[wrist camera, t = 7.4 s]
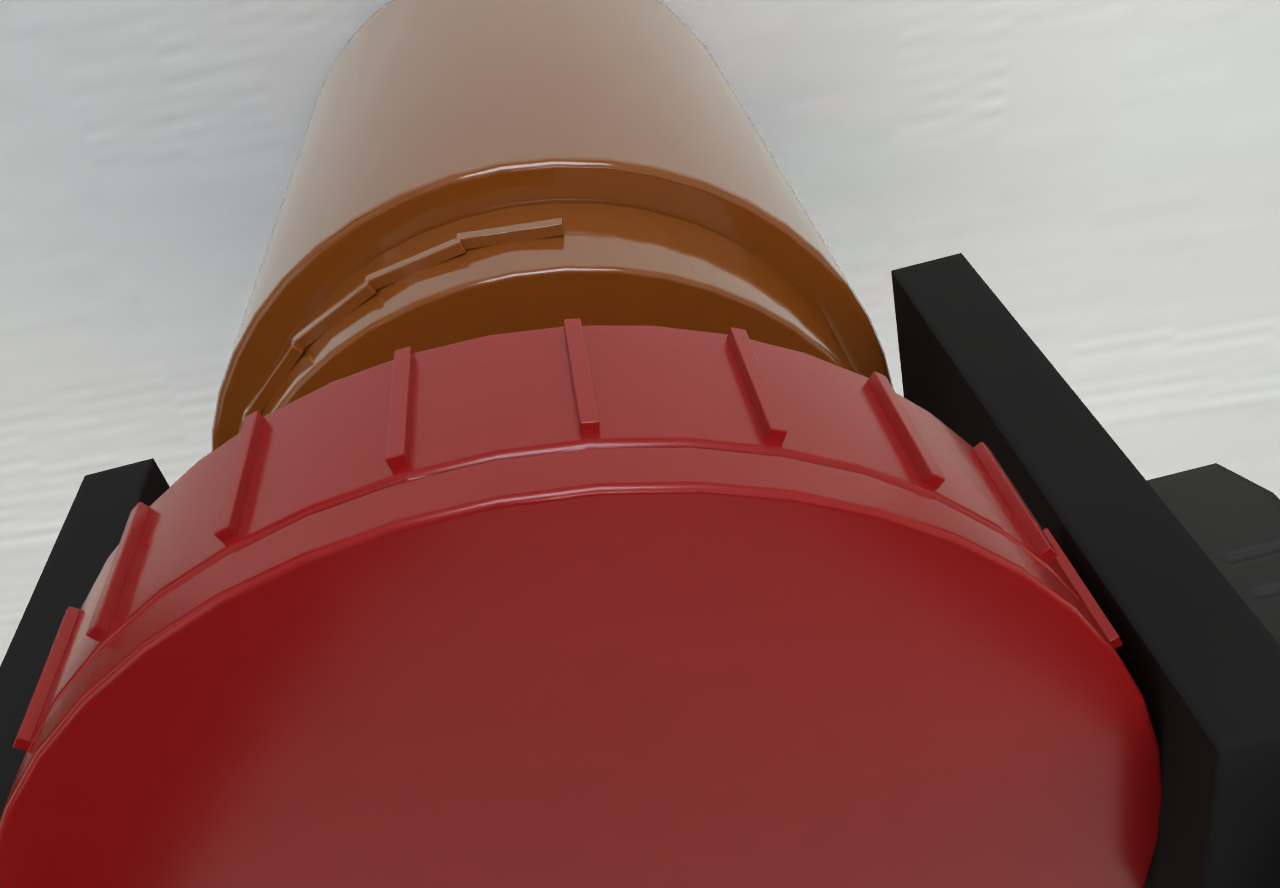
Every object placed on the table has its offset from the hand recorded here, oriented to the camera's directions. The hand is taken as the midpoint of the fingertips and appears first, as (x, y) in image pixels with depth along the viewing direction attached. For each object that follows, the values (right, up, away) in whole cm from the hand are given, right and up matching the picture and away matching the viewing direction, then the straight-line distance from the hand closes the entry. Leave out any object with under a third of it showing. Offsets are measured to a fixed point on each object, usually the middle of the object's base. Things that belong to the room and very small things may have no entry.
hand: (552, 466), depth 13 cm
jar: (-1, +5, +7) cm, 9 cm away
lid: (+1, -3, -4) cm, 6 cm away
